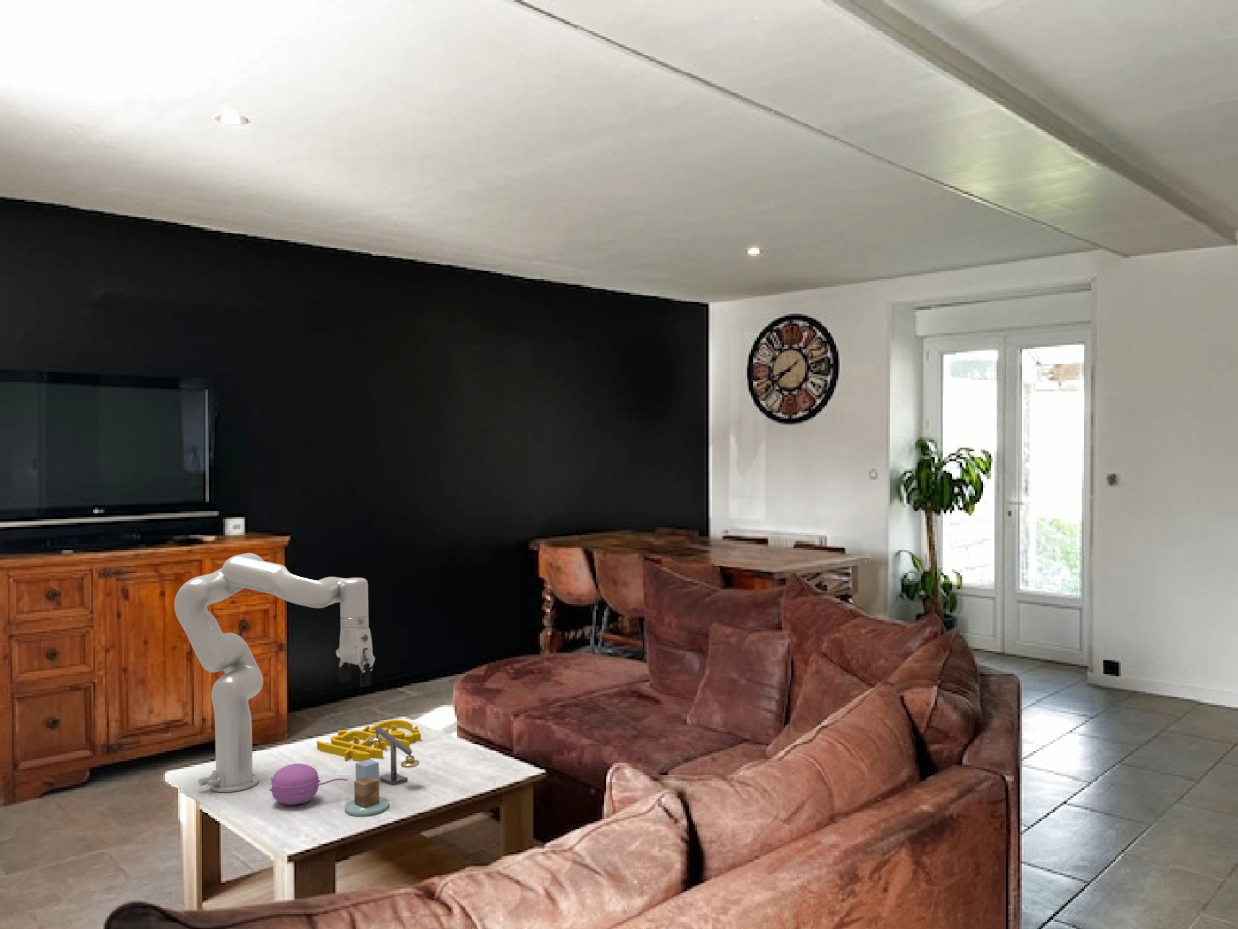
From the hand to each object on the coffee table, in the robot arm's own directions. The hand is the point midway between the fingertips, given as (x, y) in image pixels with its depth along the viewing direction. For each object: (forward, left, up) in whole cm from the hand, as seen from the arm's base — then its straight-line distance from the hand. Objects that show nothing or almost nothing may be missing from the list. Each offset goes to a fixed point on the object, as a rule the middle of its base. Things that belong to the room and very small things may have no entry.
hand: (355, 683), depth 261 cm
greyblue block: (+2, -2, -28) cm, 29 cm away
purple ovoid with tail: (-17, -2, -28) cm, 33 cm away
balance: (+8, -6, -28) cm, 30 cm away
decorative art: (+26, +29, -29) cm, 48 cm away
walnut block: (-9, -18, -27) cm, 34 cm away
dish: (-9, -18, -28) cm, 35 cm away
